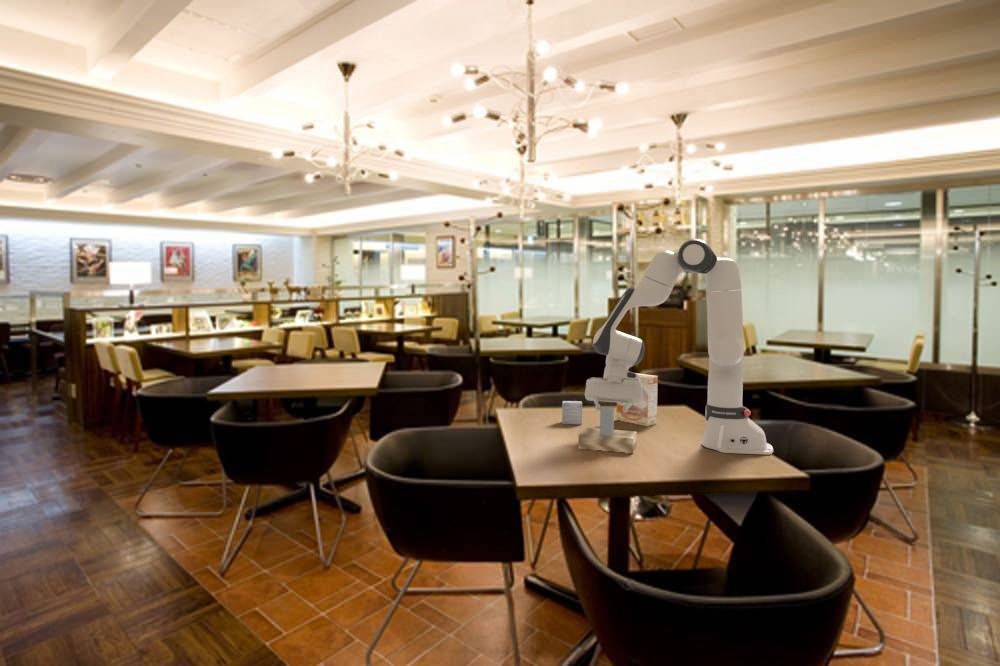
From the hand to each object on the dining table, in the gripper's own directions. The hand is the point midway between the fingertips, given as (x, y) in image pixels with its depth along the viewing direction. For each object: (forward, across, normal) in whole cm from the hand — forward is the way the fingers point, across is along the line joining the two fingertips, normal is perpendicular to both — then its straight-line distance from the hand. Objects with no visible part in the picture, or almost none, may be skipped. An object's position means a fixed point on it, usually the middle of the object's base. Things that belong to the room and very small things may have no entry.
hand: (611, 410), depth 201 cm
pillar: (+11, 0, -2) cm, 11 cm away
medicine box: (-9, -19, +25) cm, 33 cm away
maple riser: (+13, 0, +3) cm, 13 cm away
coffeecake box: (-17, +5, +33) cm, 37 cm away
